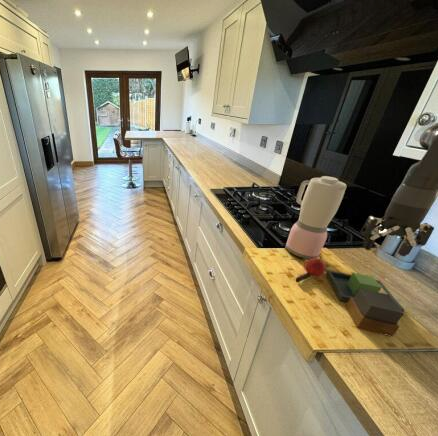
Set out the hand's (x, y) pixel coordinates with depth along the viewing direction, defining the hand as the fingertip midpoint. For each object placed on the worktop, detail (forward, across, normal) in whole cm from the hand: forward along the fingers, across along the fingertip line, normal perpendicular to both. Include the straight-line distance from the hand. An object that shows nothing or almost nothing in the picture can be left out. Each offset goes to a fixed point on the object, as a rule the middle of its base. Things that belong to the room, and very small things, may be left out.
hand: (383, 251), depth 71 cm
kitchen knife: (+15, -14, +4) cm, 20 cm away
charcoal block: (+12, -4, -13) cm, 18 cm away
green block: (+16, -1, 0) cm, 16 cm away
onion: (+16, -14, +4) cm, 21 cm away
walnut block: (+16, -4, -13) cm, 21 cm away
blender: (+16, -15, +21) cm, 30 cm away
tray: (+16, -1, 0) cm, 16 cm away
